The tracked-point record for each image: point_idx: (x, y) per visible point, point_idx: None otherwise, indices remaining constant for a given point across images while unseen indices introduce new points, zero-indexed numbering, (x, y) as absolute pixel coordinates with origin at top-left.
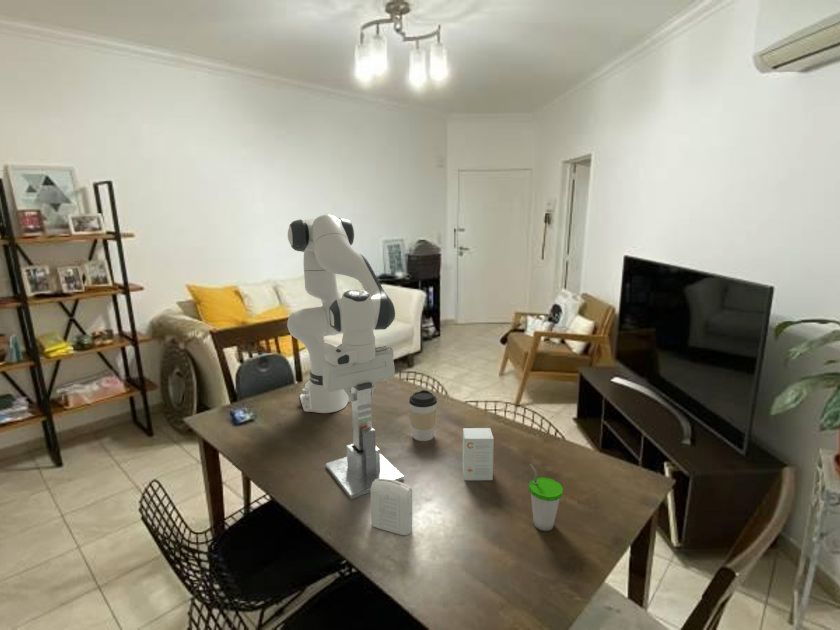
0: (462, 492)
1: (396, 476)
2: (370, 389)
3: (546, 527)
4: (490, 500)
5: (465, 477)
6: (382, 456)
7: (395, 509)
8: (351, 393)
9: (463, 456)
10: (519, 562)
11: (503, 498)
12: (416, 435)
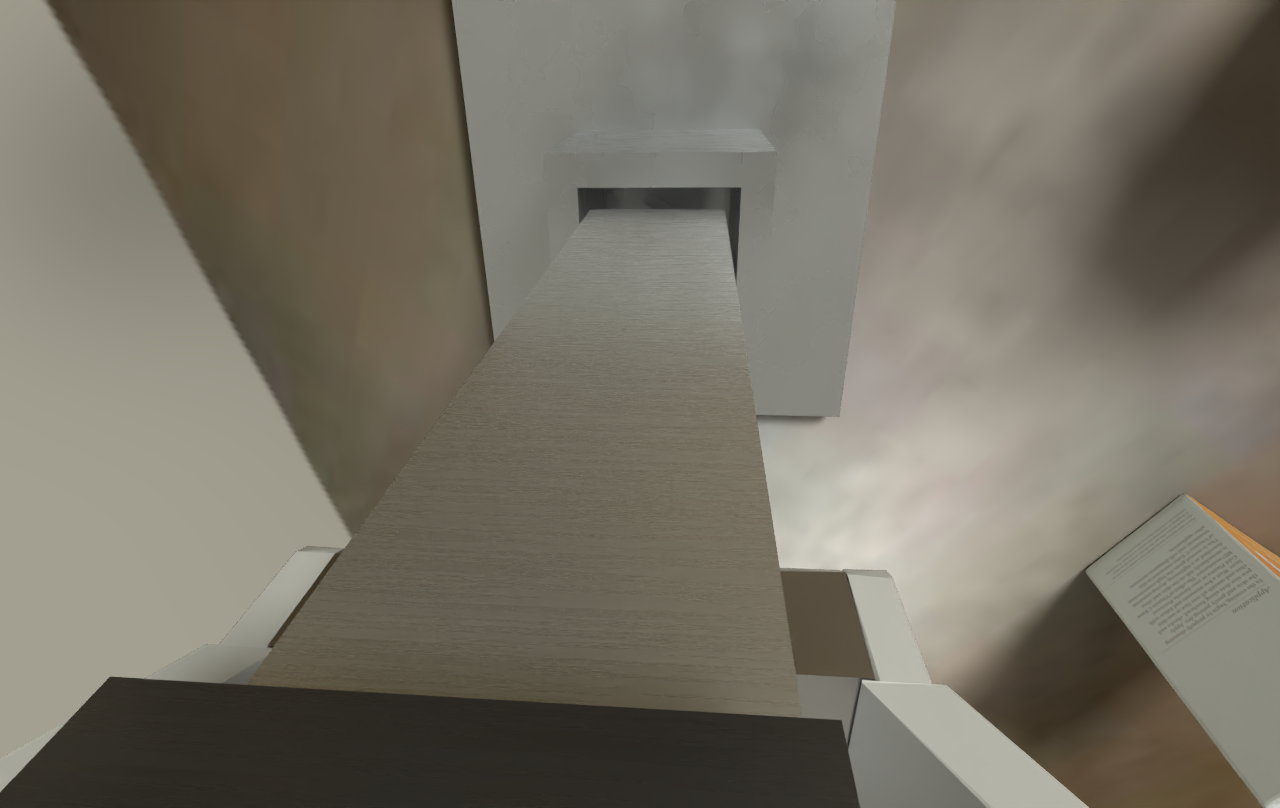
0: (994, 620)
1: (801, 398)
2: (868, 780)
3: None
4: (1039, 705)
5: (1096, 586)
6: (870, 135)
7: None
8: (356, 559)
9: (1200, 620)
10: None
11: (1092, 722)
12: None
